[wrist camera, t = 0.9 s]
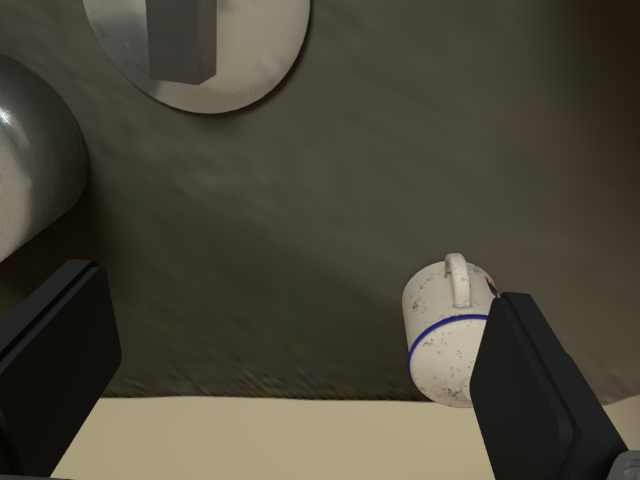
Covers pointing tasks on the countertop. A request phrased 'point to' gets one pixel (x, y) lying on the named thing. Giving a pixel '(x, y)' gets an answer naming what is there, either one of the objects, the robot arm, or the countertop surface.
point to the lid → (201, 47)
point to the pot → (35, 156)
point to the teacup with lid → (446, 327)
